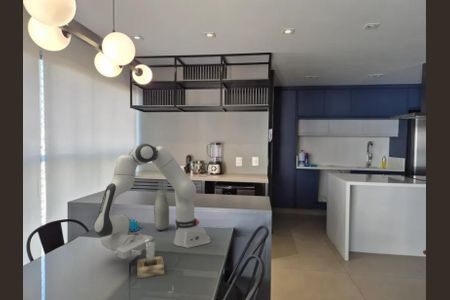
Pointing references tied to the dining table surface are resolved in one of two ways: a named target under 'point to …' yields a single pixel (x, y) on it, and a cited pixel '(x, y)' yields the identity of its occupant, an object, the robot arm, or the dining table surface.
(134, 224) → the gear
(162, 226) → the glass bottle
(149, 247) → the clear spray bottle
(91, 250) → the dining table surface
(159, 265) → the socket block
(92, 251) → the dining table surface
